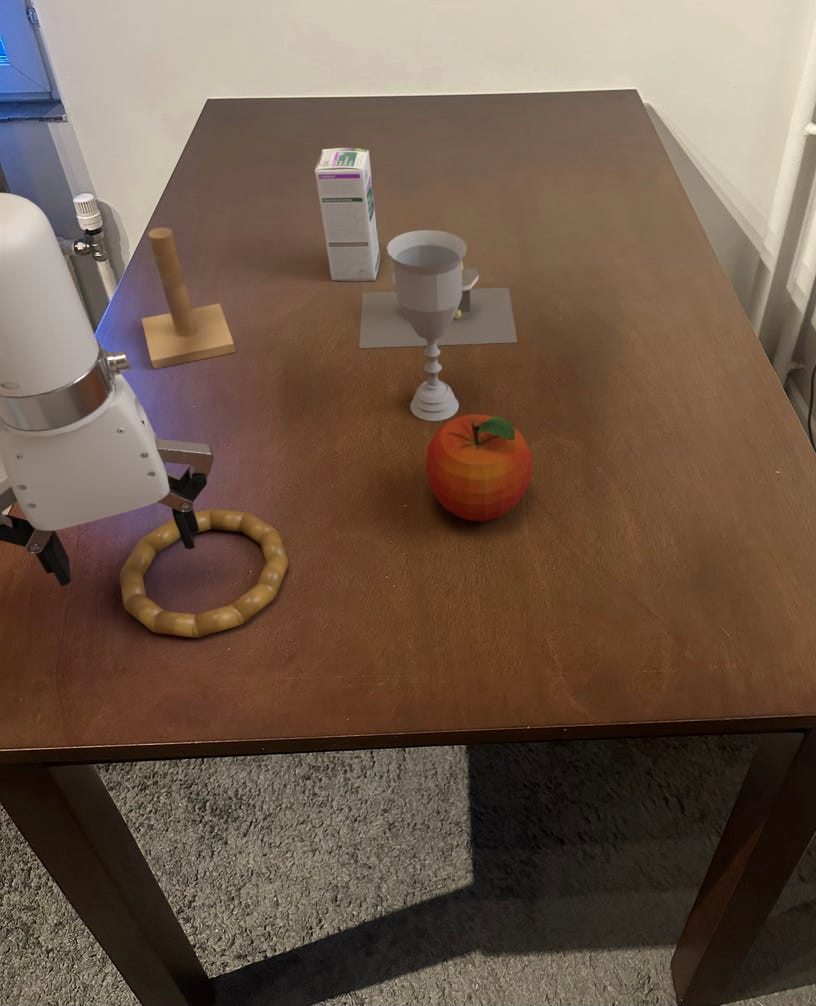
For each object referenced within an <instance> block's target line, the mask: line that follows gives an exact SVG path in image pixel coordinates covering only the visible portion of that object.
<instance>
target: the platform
mask: <svg viewBox="0 0 816 1006" xmlns="http://www.w3.org/2000/svg"><path fill="white" fill-rule="evenodd" d="M463 263H464V262H463V261H462V298H461V301H460V303H459V306H458V309H457V312H456V314H455V317H454V319H453V320H452V322H451V324H450V326H449V328H448V329H447V331H446V333H445V335H444V336H442V337H440V338H438V339H437V340H436V344H437V346H459V345H484V344H485V345H486V344H487V345H488V344H512V343H518V337H517V330H516V325H515V319H514V318H515V317H514V311H513V307H512V300H511V294H510V287H484V288H483V287H482V288H481V287H480V288H479V287H478V288H473V287H474V286H475V284H476V283H478V281H479V276H480V275H479V269H477V268H464V264H463ZM391 280H392V283H393V284H394V285H396V282H395V270H394V271H393V272H392V273H391ZM359 324H360V325H359V341H358V343H359V344H358V348H359V349H376V348H378V349H379V348H404V347H406V348H407V347H426V345H427V340H426V339H424V338H421V337H420V336H418V334H417V333H416V332H415V330H414V329H413V327H412V326H411V324H410V323H409V321H408V320H407V318H406V316H405V315H404V313H403V310H402V308H401V306H400V304H399V302H398V300H397V295H396V290H394V291H393V290H392V291H365V292H362V293H361V307H360V323H359Z"/></svg>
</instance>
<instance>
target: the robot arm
mask: <svg viewBox="0 0 816 1006" xmlns="http://www.w3.org/2000/svg"><path fill="white" fill-rule="evenodd" d="M128 371H131V365H130V362H129V358H128V356H127V353H126V351H125V350H121V351H117V352H113V351H108V352H107V350H106V348H102V347H101V344H100V342H99V340H98V339H97V338H96V336H95V334H94V331H93V328H92V325H91V323H90V320H89V318H88V316H87V312H86V310H85V307H84V305H83V302H82V300H81V298H80V295H79V292H78V290H77V287H76V285H75V282H74V280H73V277H72V275H71V272H70V269H69V267H68V265H67V262H66V259H65V257H64V254H63V251H62V249H61V247H60V243H59V242H58V239H57V236H56V234H55V232H54V229H53V227H52V225H51V222H50V221H49V218H48V216H47V215H45V213H44V211H43V210H42V209H41V208H40V207H39V206H38V205H37V204H35V203H34V202H32V201H31V200H29V199H28V198H25V197H23V196H20V195H18V194H13V193H7V192H0V461H1V464H2V466H3V469H4V472H5V474H6V477H7V478H6V479H4V480H3V481H1V482H0V542H4V543H8V544H12V545H16V546H20V547H23V548H25V551H26V553H29V554H32V555H35V556H36V557H37V559H38V561H39V562H40V564H41V566H42V568H43V569H44V572H45V573H46V574H47V575H49V574H52V573H53V574H54V576H55V578H56V579H57V581H58V583H59V585H60V586H61V587H64V586H67V585H70V583H71V582H72V577H71V566H70V558H69V555H68V553H67V551H66V549H65V548H64V546H63V544H62V541H61V539H60V538H59V536H58V534H57V532H56V531H59V530H64V529H68V528H72V527H76V526H79V525H84V524H88V523H91V522H94V521H98V520H102V519H106V518H110V517H113V516H117V515H121V514H125V513H128V512H131V511H134V510H138V509H141V508H145V507H147V506H150V505H153V504H156V503H159V504H161V505H164V506H165V507H169V508H171V511H172V516H173V518H174V520H175V522H176V525H177V528H178V530H179V533H180V535H181V537H180V539H181V541H182V544H183V547H184V548H185V550H187V549H188V550H189V551H190V550H193V549H196V546H195V541H194V537H193V534H192V533H195V532H198V531H199V526H198V523H197V519H196V516H195V511H194V501H195V500H196V499H197V498H198V497H199V495H200V494H201V492H202V491H203V490H204V489H205V488H206V486H207V484H208V477H209V475H210V472H211V469H212V466H213V463H214V460H215V456H214V453H213V448H212V447H211V445H209V444H206V443H198V442H191V441H190V442H189V441H180V440H171V439H164V438H163V439H162V438H157V436H156V434H155V431H154V429H153V427H152V425H151V422H150V420H149V418H148V416H147V414H146V412H145V410H144V408H143V406H142V404H141V402H140V401H139V399H138V397H137V395H136V393H135V391H134V390H133V389H132V387H131V385H130V384H129V383H128V381H127V380H126V378H125V376H123V374H122V373H123V372H128ZM166 463H171V464H180V465H189V467H188V468H187V469H186V471H185V472H184V473H183V474H182V476H179V475H176V474H174V473H172V472H170V471H168V470H166V468H165V467H166ZM16 502H17V503H18V506H19V507H20V509H21V511H22V514H24V517H25V519H24V518H21V517H18V516H14V515H10V514H7V513H5V514H3V512H4V511H7V510H8V509H9V508H10V507H11V506H13V505H14V504H15V503H16ZM195 534H196V533H195Z"/></svg>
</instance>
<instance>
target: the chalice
mask: <svg viewBox="0 0 816 1006" xmlns="http://www.w3.org/2000/svg"><path fill="white" fill-rule="evenodd" d="M386 251H387V254H388V255H389V257H390V258H391V260H392V262H393V267H394V269H393V270H394V271H395V282H396V284H395V291H396V295H397V300H398V302H399V304H400V306H401V308H402V310H403V313H404V315H405V316H406V318H407V320H408V321H409V323H410V324H411V326H412V327H413V329H414V330H415V332H416V333H417V334H418V336H420V337H421V338H424V339H426V340H427V345H426V346H425V349H424V350H423V355H424V356H425V357H426V359H427V362H426V364H425V365H424V366H423V370H424V371H425V372H427V375H428V377H427V380H426V381H424V382H423V383H421V384H420V385H418V387H417V389H416V391H415V393H414V396H413V398H412V400H411V402H410V405H409V406H410V411H411V413H412V414H413V415H414V416H415V417H417V418H418V419H420V420H423V421H427V422H428V421H429V422H439V421H445V420H447V419H450V418H451V417H453V416H455V415H456V414H457V412H458V410H459V407H460V404H459V400H458V399H457V398H456V395H455V394H454V392H453V391H452V388H451V387H450V385H449V384H447V382H445V381H443V380H439V373H440V371H441V370H442V369H443V368H442V364H440V363H439V362H438V361H439V360H438V358H439V356H440V355H441V350H440V349H439V348H438V345H437V344H436V340H437V339H438V338H440V337H442V336H444V335H445V333H446V331H447V329H448V328H449V326H450V324H451V322H452V320H453V319H454V317H455V314H456V312H457V309H458V306H459V303H460V301H461V298H462V262H463V259H464V257H465V256H466V254H467V251H468V247H467V244H466V242H465V241H464V240H463V239H462V238H461V237H459V236H457V235H455V234H453V233H450V232H446V231H442V230H434V229H423V230H422V229H421V230H413V231H407V232H404V233H402V234H399V235H396V236H395V237H394V238H393V239H392V240H390V241H389V242H388V244H387V246H386Z"/></svg>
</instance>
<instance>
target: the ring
mask: <svg viewBox="0 0 816 1006" xmlns="http://www.w3.org/2000/svg"><path fill="white" fill-rule="evenodd" d="M194 513H195V516H196V519H197V523H198V526H199V531H198V532H195V533H192V535H194V534H199V533H202V532H206V531H211V530H219V531H220V530H221V531H230V532H238V533H243V534H244V535H246V536H247V537H248V538H250V539H252V540H253V541H254V542H256V543H257V544H259V545H260V547H261V551H262V554H263V557H264V560H265V564H264V567H263V569H262V571H261V573H260V575H259V578H258V580H257V582H256V584H255V585H254V586H252V587H251V588H250V589H249V590H248V591H246V592H245V593H244V594H243V595H241V596H240V597H239V598H238V599H236V600H235V601H234V602H233V603H231V604H229V605H226V606H222V607H219V608H214V609H211V610H208V611H205V612H201V613H197V614H195V613H184V612H176V611H170V610H169V611H167V610H164V609H162V608H161V607H160V606H159V605H157V604H156V603H155V602H154V601H153V600H151V599H150V598H149V597H147V594H146V588H145V582H144V576H145V574H146V573H147V570H148V569H149V568H150V565H151V563H152V561H153V560H154V558H155V556H156V555H158V554H159V553H160V552H163V550H165V549H166V548H168V547H169V546H170V545H172V544H173V543H174V542H176V541H178V540H179V539H181V535H180V533H179V530H178V528H177V525H176V522H175V520H174V517H173V518H170V519H168V520H166V522H164V523H163V524H161V525H160V526H158V527H157V528H155V529H154V530H153V531H151V532H150V533H148V534H146V535H145V536H143V537H142V538H141V539H139V540H138V541H137V543H136V544H135V546H134V547H133V549H132V551H131V552H130V554H129V556H128V558H127V559H126V562H125V563H124V565H123V566H122V567H121V570H120V572H119V584H120V590H121V597H122V605H123V608H124V610H125V611H126V612H127V613H129V615H131V616H132V617H134V618H135V619H136V620H137V621H138V622H140V623H141V624H142V625H144V626H145V627H146V628H147V629H149V631H151V632H152V633H155V634H162V635H170V636H178V637H179V636H180V637H188V638H194V639H195V638H202V637H205V636H208V635H212V634H216V633H218V632H222V631H225V630H229V629H232V628H235V627H238V626H241V625H243V624H245V623H246V622H247V621H248V620H250V619H251V618H252V617H253V616H255V615H256V614H257V613H258V612H259V611H261V610H262V609H263V608H265V606H267V605H268V604H269V603H270V602H272V601H274V599H275V598H276V597H277V595H278V591H279V589H280V587H281V584H282V582H283V579H284V577H285V574H286V572H287V569H288V566H289V558H288V556H287V553H286V550H285V546H284V544H283V541H282V538H281V535H280V532H279V531H278V530H277V529H275V528H274V527H272V526H271V525H270V524H268V523H266V522H265V521H263V520H262V519H261V518H259V517H257V516H256V515H254V514H253V513H250V512H247V511H240V510H239V511H238V510H231V509H230V510H229V509H222V508H221V509H220V508H208V509H203V510H200V511H196V512H195V511H194Z"/></svg>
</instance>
